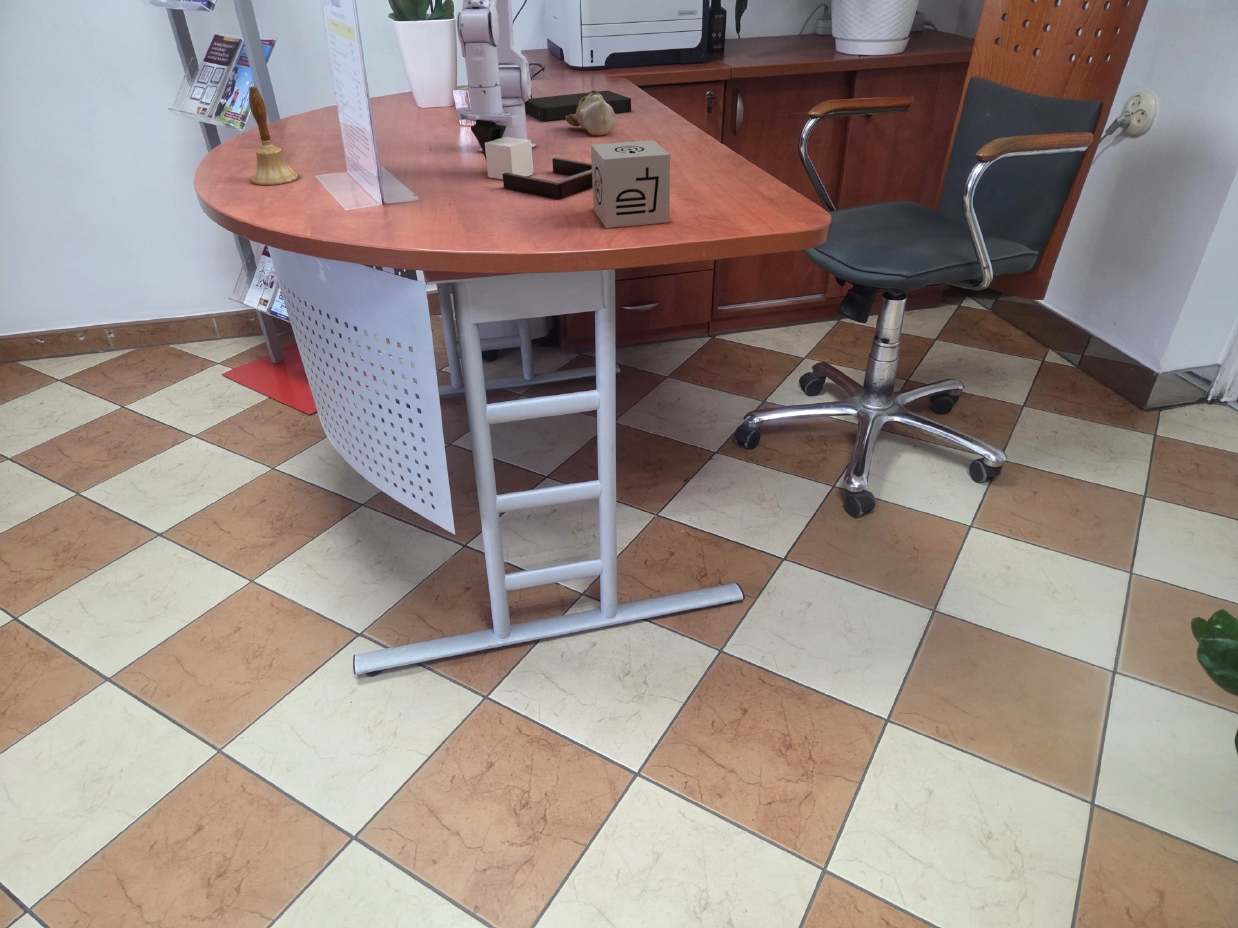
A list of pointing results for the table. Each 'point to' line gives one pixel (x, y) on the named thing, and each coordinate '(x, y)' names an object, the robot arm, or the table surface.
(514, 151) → the white cube
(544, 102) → the external hard drive
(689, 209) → the table surface
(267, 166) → the hand bell
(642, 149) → the icon cube
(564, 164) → the frame
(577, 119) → the ceramic sculpture
